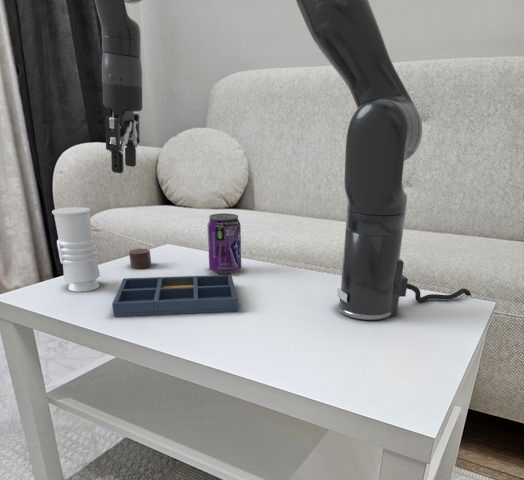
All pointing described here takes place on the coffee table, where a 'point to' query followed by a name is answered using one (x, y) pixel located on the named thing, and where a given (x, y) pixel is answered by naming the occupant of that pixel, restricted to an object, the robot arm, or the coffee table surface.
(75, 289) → the white ribbed cylinder
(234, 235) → the beverage can
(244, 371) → the coffee table surface
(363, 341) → the coffee table surface
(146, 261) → the brown cylindrical piece
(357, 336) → the coffee table surface
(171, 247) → the coffee table surface
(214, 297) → the grey compartment tray
